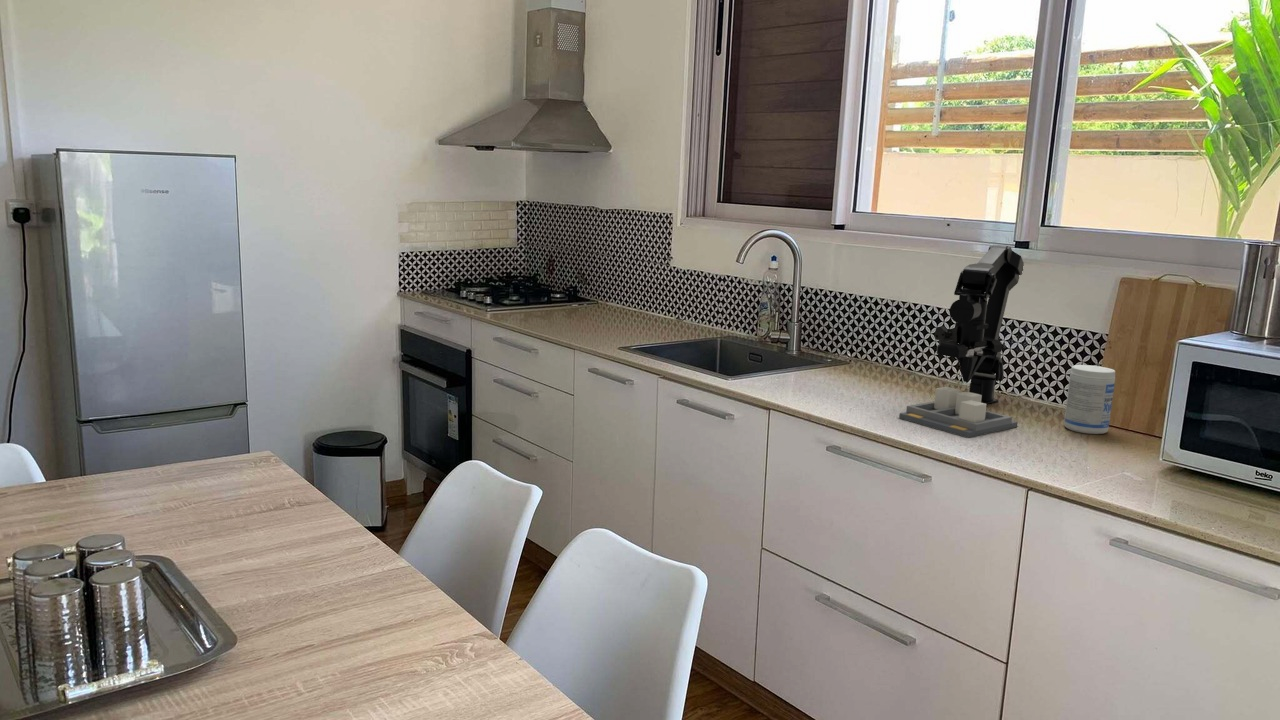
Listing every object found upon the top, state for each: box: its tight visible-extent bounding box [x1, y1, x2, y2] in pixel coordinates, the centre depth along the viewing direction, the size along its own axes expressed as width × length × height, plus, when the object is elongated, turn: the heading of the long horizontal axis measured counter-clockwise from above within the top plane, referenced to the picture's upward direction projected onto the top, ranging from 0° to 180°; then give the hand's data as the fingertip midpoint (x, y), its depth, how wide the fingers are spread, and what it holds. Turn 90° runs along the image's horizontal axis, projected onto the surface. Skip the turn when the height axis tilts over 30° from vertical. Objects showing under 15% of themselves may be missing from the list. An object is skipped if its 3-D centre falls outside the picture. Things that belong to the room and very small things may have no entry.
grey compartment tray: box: [898, 400, 1018, 439], centre depth 224 cm, size 19×19×3 cm
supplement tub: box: [1063, 364, 1116, 435], centre depth 221 cm, size 10×10×15 cm
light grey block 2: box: [959, 400, 987, 423], centre depth 216 cm, size 4×4×5 cm
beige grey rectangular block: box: [934, 386, 961, 409], centre depth 230 cm, size 4×4×5 cm
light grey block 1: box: [955, 391, 982, 415], centre depth 225 cm, size 4×4×5 cm
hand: (966, 381), depth 233 cm, fingers closed
